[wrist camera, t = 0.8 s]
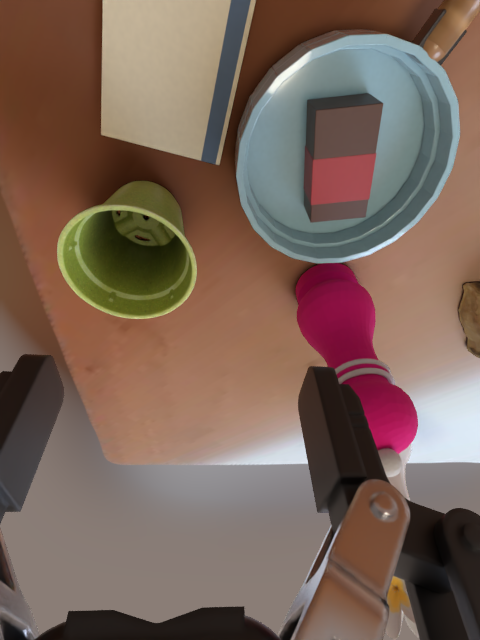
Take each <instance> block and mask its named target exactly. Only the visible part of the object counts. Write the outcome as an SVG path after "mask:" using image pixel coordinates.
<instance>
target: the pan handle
mask: <svg viewBox="0 0 480 640" xmlns="http://www.w3.org/2000/svg"><path fill="white" fill-rule="evenodd" d="M479 11H480V0H444V1H443V2H442V4H441V5H440V7H439V8H438V9H435V10H434V11H433V13H432V14H431V16H430V17H429V19H428V20H427V21H426V23H425V24H424V26H423V27H422V28H421V30H420V31H419V33H418V34H417V36H416V37H415V38H414V40H413V41H412V43H414V44H416V45H419V46H420V47H422V48H423V49H424V50H425V51H426V52H427V54H428V56H429V57H430V58H431V59H433V60H435V61H436V62H437V63H439V64H440V65H441V64H442V63H443V62H444V61H445V59H446V58H447V57H448V55H449V54H450V53H451V51H452V50H453V49H454V48H455V46H456V45H457V44H458V42H459V41H460V40H461V39H462V37H463V36H464V35H465V33H466V32H467V31H466V28H467V27H468V26H469V24H470V23H471V22H472V20H473V19H474V18H475V17H476V15H477V14H478V13H479ZM406 54H407V53H406ZM407 55H408V56H410V57H411V58H412V59H413V60H414V61H415V62H416V63H419V64H421V65H423V64H422V63H421V62H420V61H419V60H418V59H417V58H416V57H415V56H413V55H411V54H407Z"/></svg>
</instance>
